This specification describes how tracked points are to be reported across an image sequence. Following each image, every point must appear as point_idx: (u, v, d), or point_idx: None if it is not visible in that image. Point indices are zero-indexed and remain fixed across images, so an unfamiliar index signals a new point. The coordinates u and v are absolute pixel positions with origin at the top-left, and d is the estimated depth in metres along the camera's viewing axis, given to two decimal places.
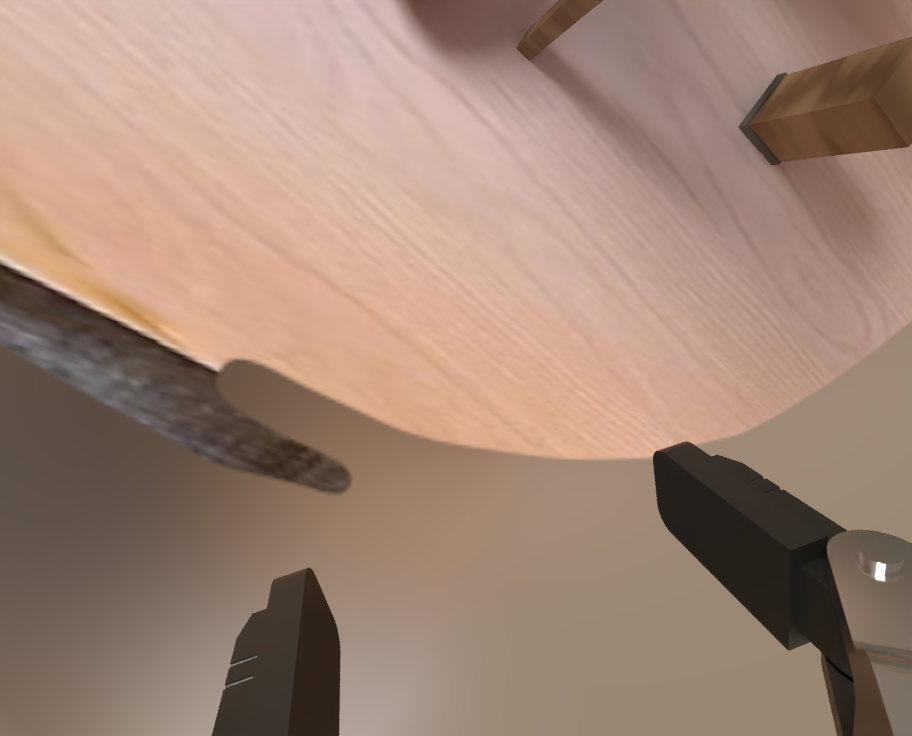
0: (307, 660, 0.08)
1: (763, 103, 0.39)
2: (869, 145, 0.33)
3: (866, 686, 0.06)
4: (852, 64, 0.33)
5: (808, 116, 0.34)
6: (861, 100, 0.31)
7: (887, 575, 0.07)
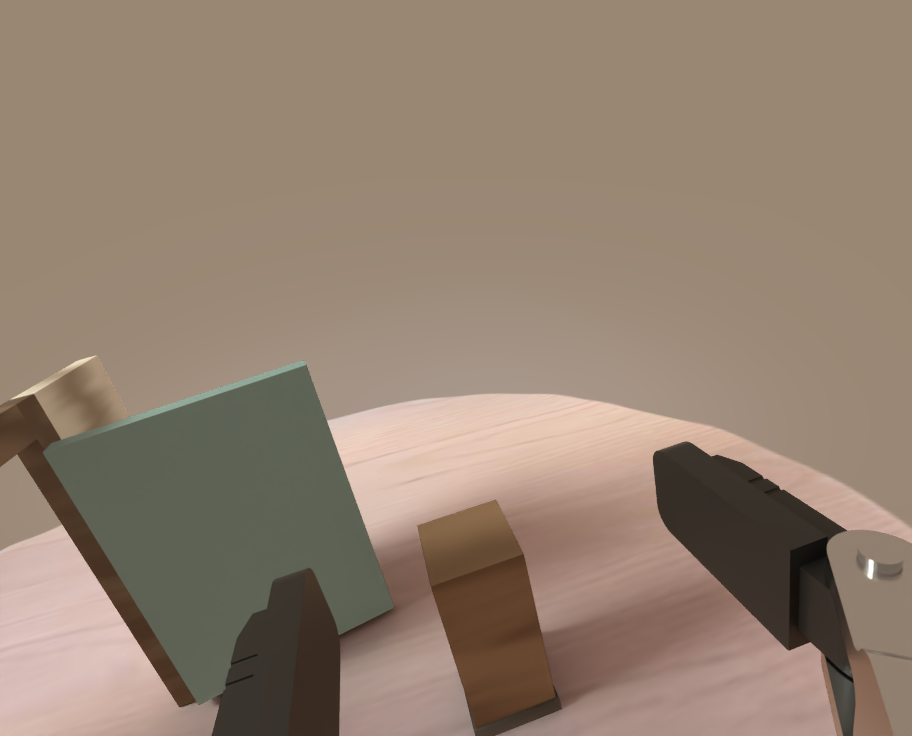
0: (307, 661, 0.08)
1: (466, 696, 0.27)
2: (521, 593, 0.23)
3: (866, 686, 0.06)
4: None
5: (462, 657, 0.24)
6: None
7: (887, 575, 0.07)
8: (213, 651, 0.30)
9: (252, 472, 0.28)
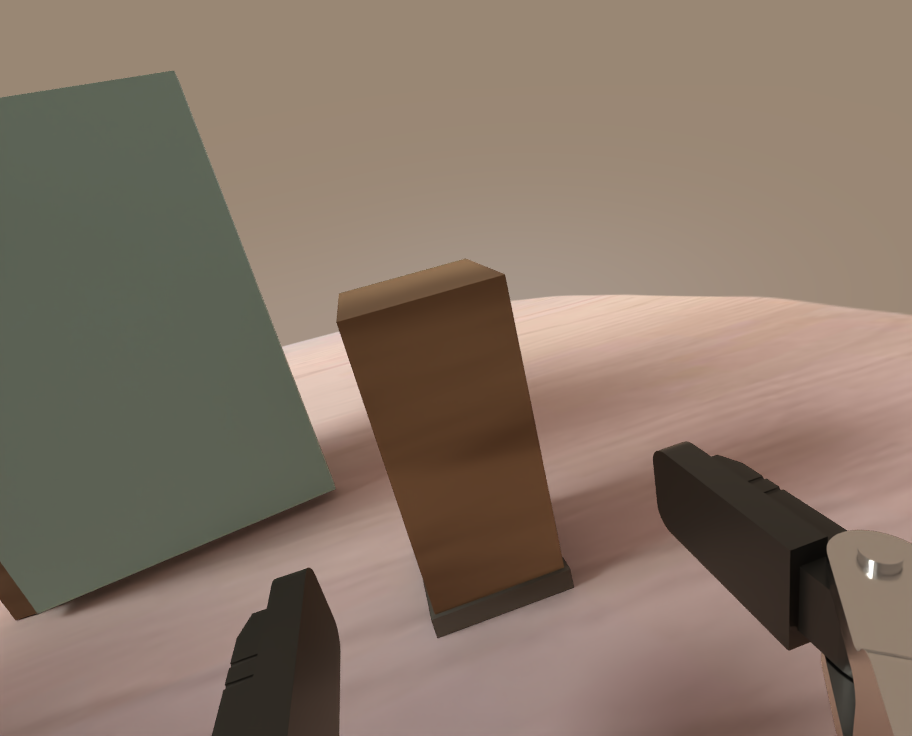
0: (306, 661, 0.08)
1: None
2: (502, 358, 0.13)
3: (866, 686, 0.06)
4: None
5: (403, 476, 0.14)
6: (346, 351, 0.13)
7: (887, 575, 0.07)
8: (55, 530, 0.20)
9: (96, 242, 0.19)
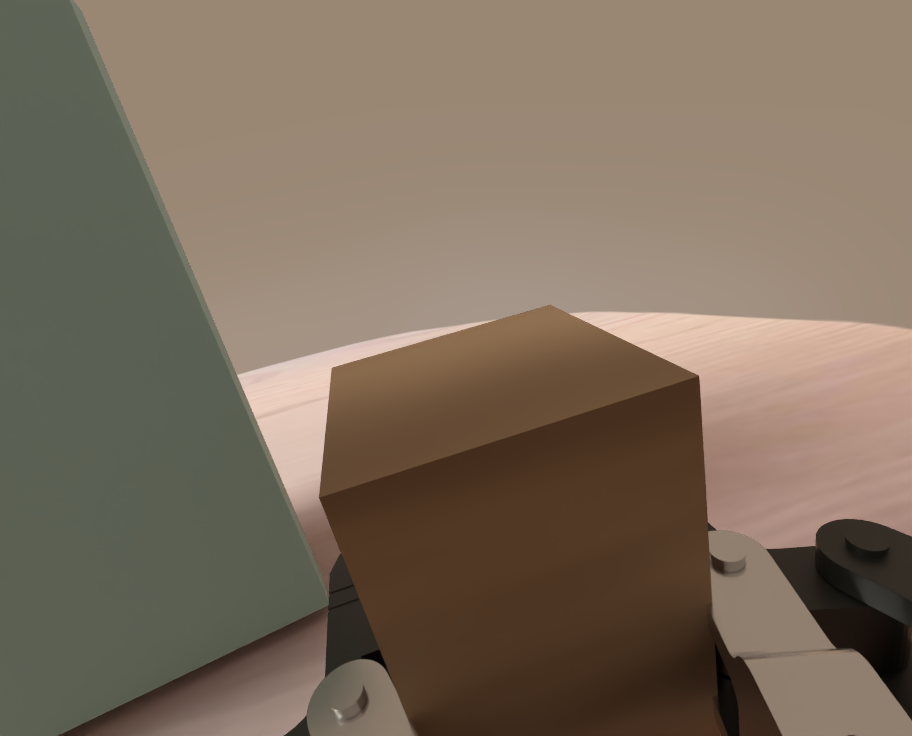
0: None
1: None
2: (672, 540, 0.06)
3: (748, 692, 0.06)
4: None
5: None
6: (343, 554, 0.05)
7: (728, 571, 0.07)
8: None
9: None
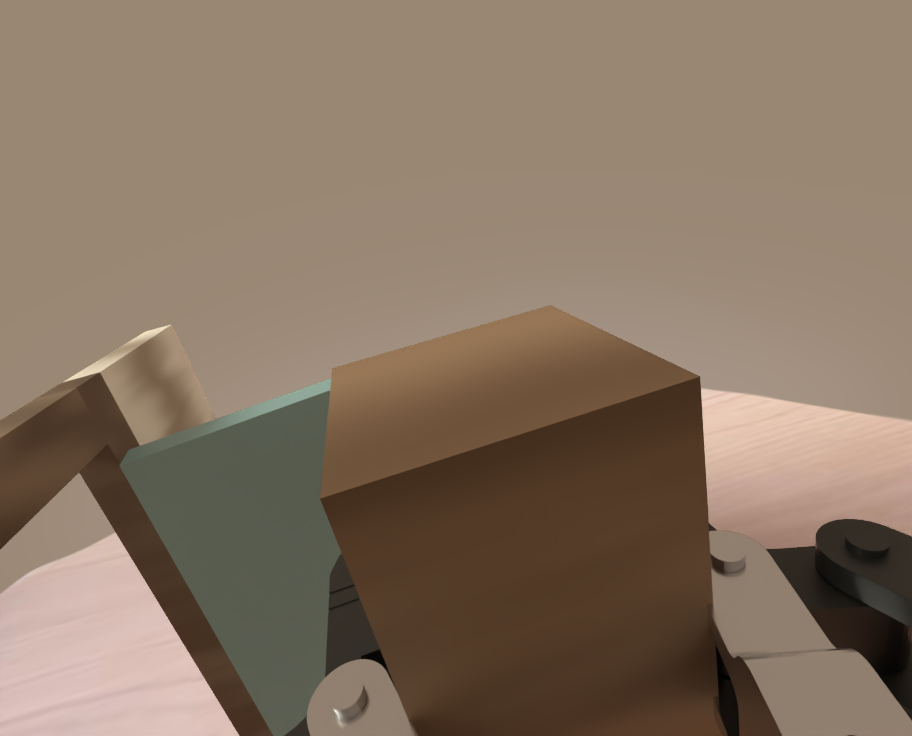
0: None
1: None
2: (672, 541, 0.06)
3: (748, 693, 0.06)
4: None
5: None
6: (344, 555, 0.05)
7: (728, 571, 0.07)
8: None
9: None
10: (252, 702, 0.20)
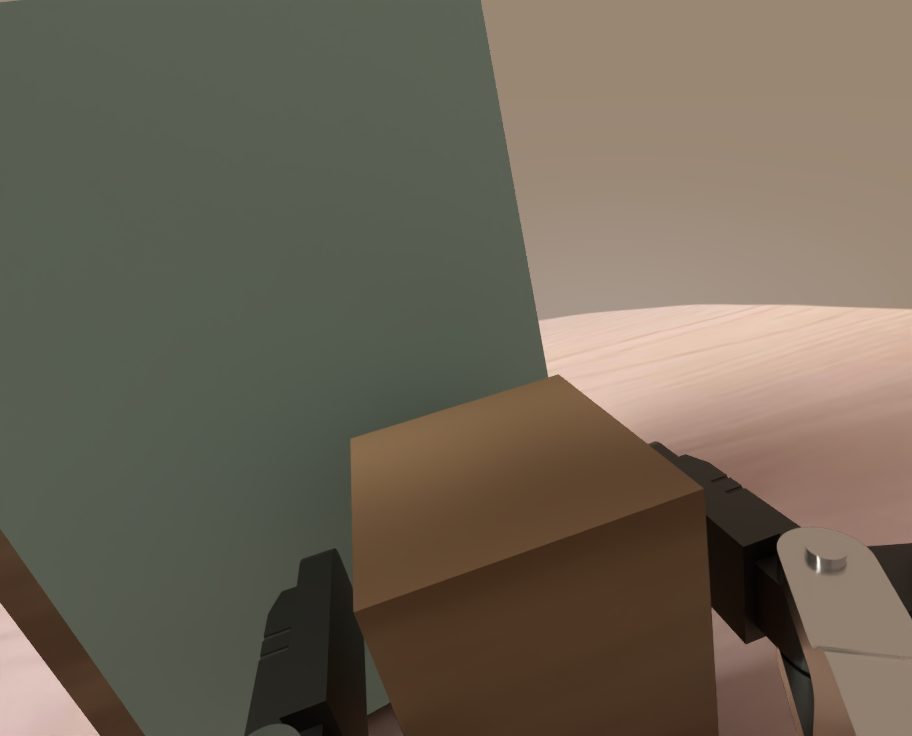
0: (337, 633, 0.09)
1: None
2: (678, 631, 0.07)
3: (824, 684, 0.06)
4: None
5: None
6: (374, 657, 0.06)
7: (830, 570, 0.07)
8: (231, 689, 0.13)
9: (331, 242, 0.11)
10: None
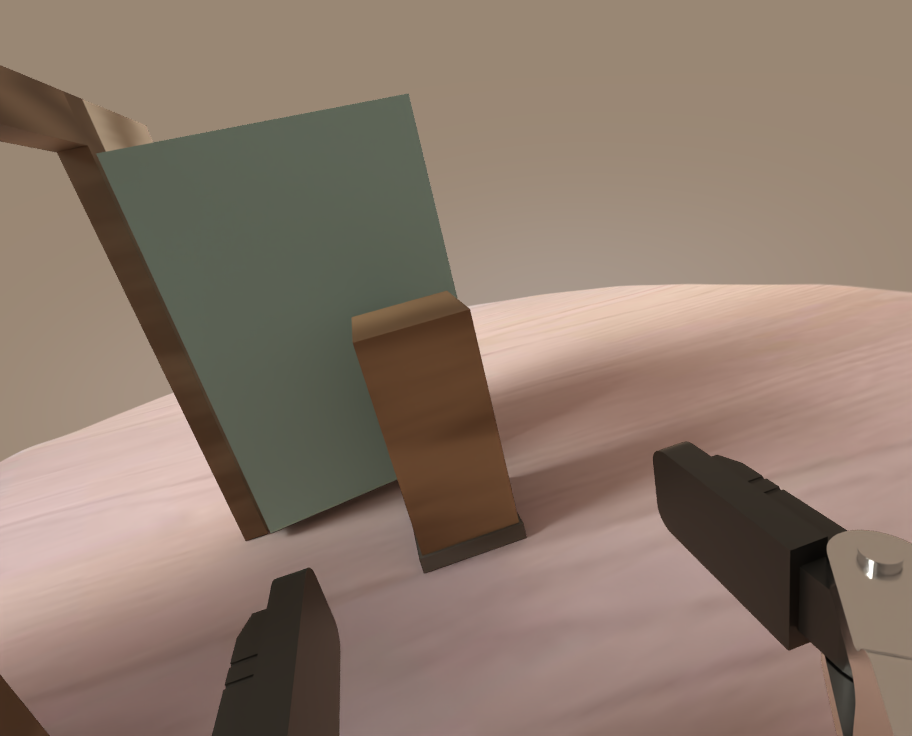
0: (307, 660, 0.08)
1: (414, 530, 0.23)
2: (469, 367, 0.19)
3: (866, 686, 0.06)
4: None
5: (398, 451, 0.19)
6: (359, 362, 0.18)
7: (887, 574, 0.07)
8: (289, 464, 0.25)
9: (342, 230, 0.23)
10: (209, 412, 0.24)
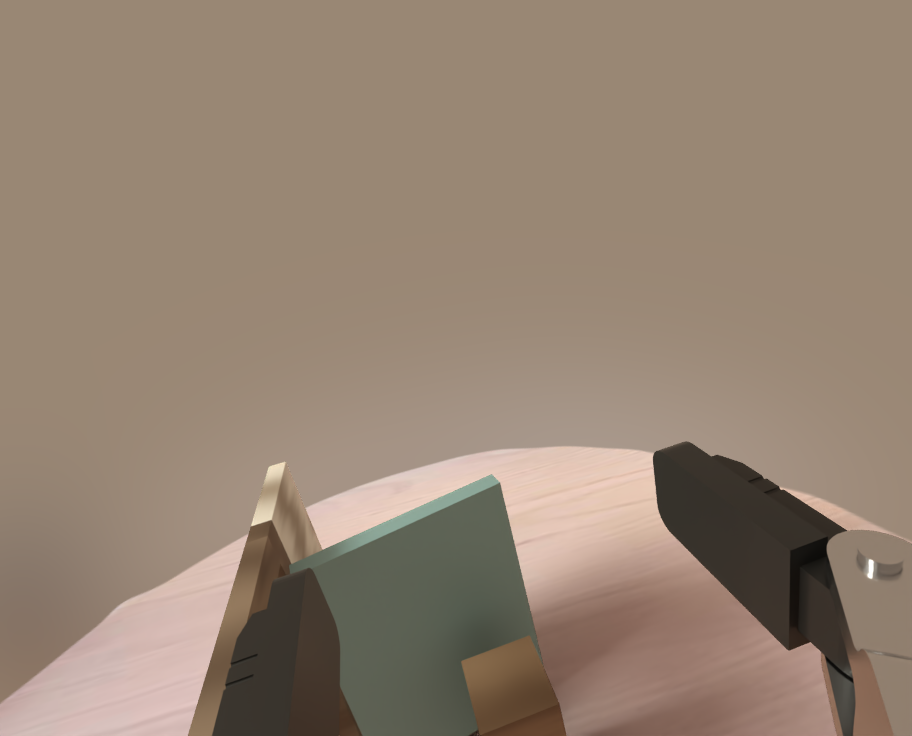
0: (306, 660, 0.08)
1: None
2: (556, 734, 0.27)
3: (866, 686, 0.06)
4: None
5: None
6: None
7: (887, 575, 0.07)
8: None
9: (448, 579, 0.31)
10: (345, 708, 0.32)
